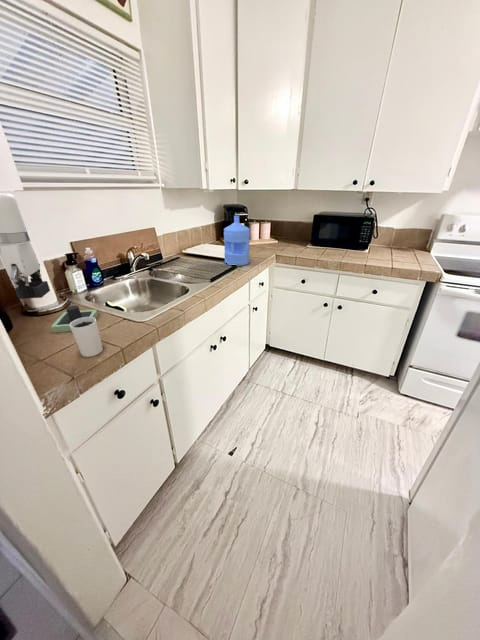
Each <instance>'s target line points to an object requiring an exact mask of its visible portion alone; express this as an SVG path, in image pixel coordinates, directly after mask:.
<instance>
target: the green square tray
mask: <svg viewBox="0 0 480 640" xmlns="http://www.w3.org/2000/svg"><path fill="white" fill-rule="evenodd" d="M98 311H99V310H98V309H86V310H85V309H84V310H80V313H81V312H92V313H91V315H90V316H89V317H93V318H95V319H96V320H97V318H98V316H99V312H98ZM66 314H68V313H67V311H64V312H62V313H61V315H59V317H58V318H57V319H56V320H55V321H54V322H53V324H52V325H51V326H50V329H51V331H52V333H64V332H72V330H71V328H70V324H63V325H58V324H59V323H60V322H61V320H62V319H63V318H64V317H65V316H66Z"/></svg>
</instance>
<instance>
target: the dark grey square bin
mask: <svg viewBox="0 0 480 640" xmlns="http://www.w3.org/2000/svg"><path fill="white" fill-rule="evenodd" d="M29 285H31V287H32V290H33V293H34V295H35V296H34V297H30V298H29V299H42V298H43V297H44V296H46V295H47V294H48V293H49V292H50V291H51V289H50V286H49V283H48V281H47V280H42V281H39V282H31V281H29ZM14 291H15V292H16V295H17V298H18V300H25V299H28V298H23V296H22V294H21V291H20V289H19V287H18V286H17V287H15V288H14Z"/></svg>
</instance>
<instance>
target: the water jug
mask: <svg viewBox="0 0 480 640" xmlns="http://www.w3.org/2000/svg"><path fill="white" fill-rule="evenodd" d="M250 231H251V230H250V228H249V227H248V226H246V225H244V224H242V223H241V222H240V215H233V223H232V224H230V225H228V226H226V227H224V228H223V241H224V263H225V265H226V266H230V267H232V266H231V265H230V264H236V266H235V267H244V266H247V265H249V264H250V249H251V247H250V236H251V232H250ZM226 263H227V264H226Z"/></svg>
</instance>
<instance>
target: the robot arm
mask: <svg viewBox="0 0 480 640" xmlns="http://www.w3.org/2000/svg"><path fill="white" fill-rule="evenodd" d="M31 242H32V241H31V238H30V235H29V231H28V230H27V226H26V223H25V220H24V218H23V215H22V212H21V209H20V207H19V203H18V201H17V198H16V197H15V195H13V194H12V193H9V192H0V254H1V258H2V261H3V264H4V267H5V270H6V273H7V275H8V276H9V278H10V281H12V282H13V283H14V284H16V286H17V287H19V289H20V291H21V294H22V296H23V298H27V299H31V298H30V297H34V296H35V295H34V293H33V290H32V287H31V285H29V282H39V281H43V279H42V274H41V263H39V260H38V257H37V255H36V252H35V250H34V248H33V245H32V243H31ZM29 277H30V278H29Z"/></svg>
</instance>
